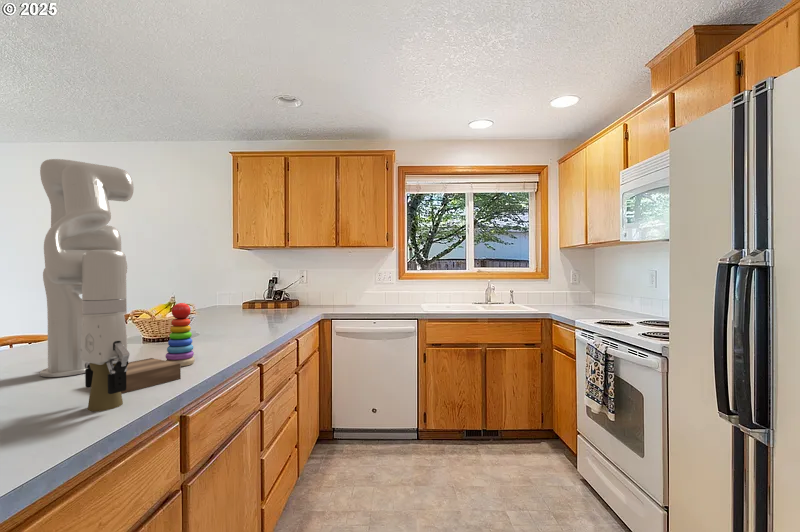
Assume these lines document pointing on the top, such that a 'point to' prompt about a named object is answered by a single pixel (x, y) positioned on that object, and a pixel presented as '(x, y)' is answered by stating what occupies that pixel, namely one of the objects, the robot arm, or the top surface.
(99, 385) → the cork
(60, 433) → the top surface
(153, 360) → the walnut base brick
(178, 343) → the stacking toy
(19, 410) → the top surface
